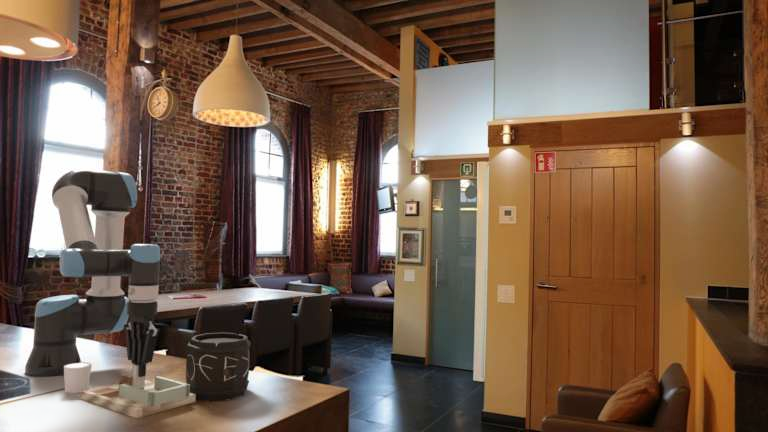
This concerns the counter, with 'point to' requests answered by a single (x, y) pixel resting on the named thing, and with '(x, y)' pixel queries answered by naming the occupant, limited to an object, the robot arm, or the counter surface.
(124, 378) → the block
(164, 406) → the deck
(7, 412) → the counter surface
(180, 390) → the cubby
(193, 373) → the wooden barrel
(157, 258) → the robot arm
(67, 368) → the shot glass
